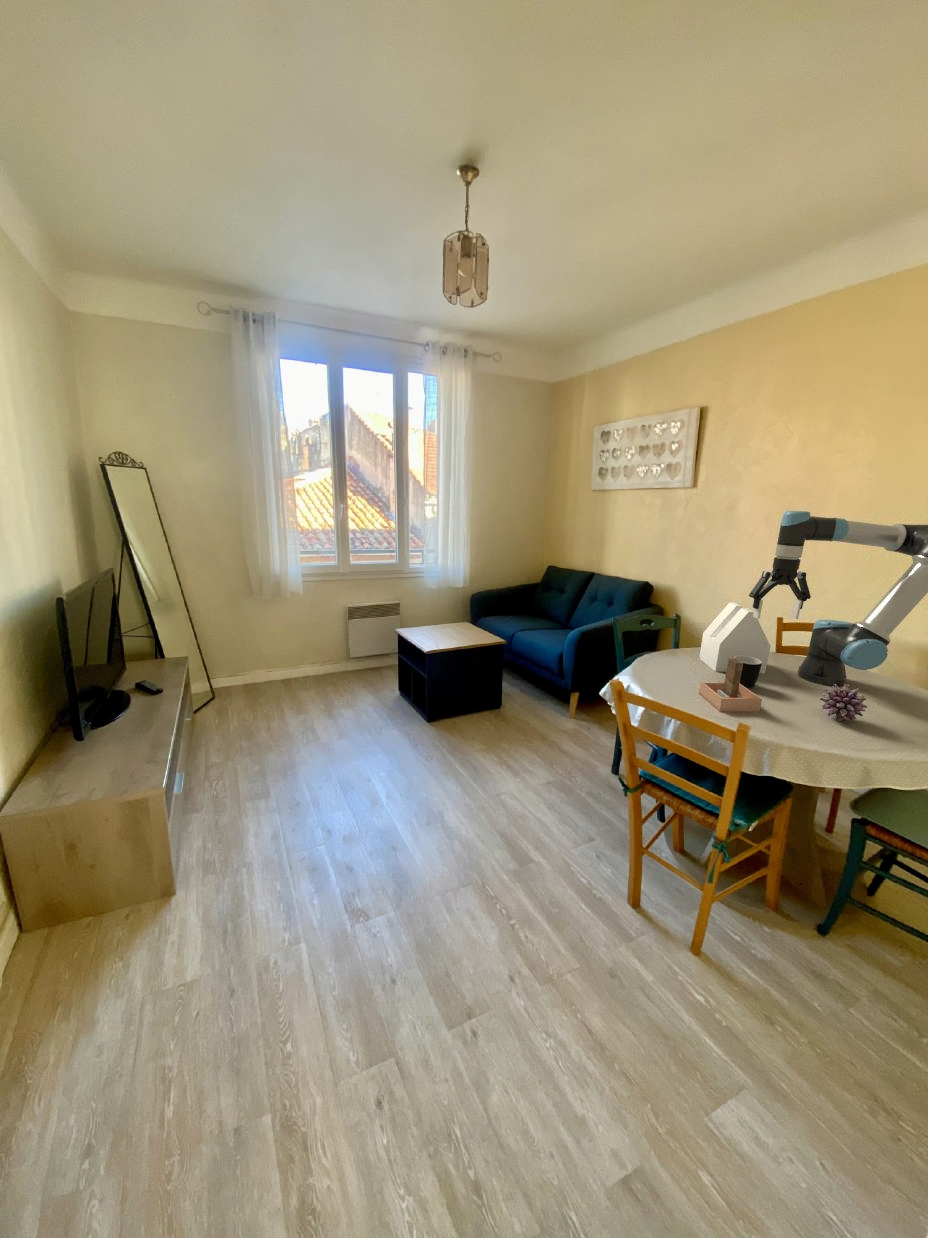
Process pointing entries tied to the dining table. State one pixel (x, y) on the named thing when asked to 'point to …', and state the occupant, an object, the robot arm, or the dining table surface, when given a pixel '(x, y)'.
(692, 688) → the dining table surface
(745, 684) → the mug
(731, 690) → the brown tall bar
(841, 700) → the purple spiky ball
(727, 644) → the white house-shaped block
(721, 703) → the pink shallow tray
